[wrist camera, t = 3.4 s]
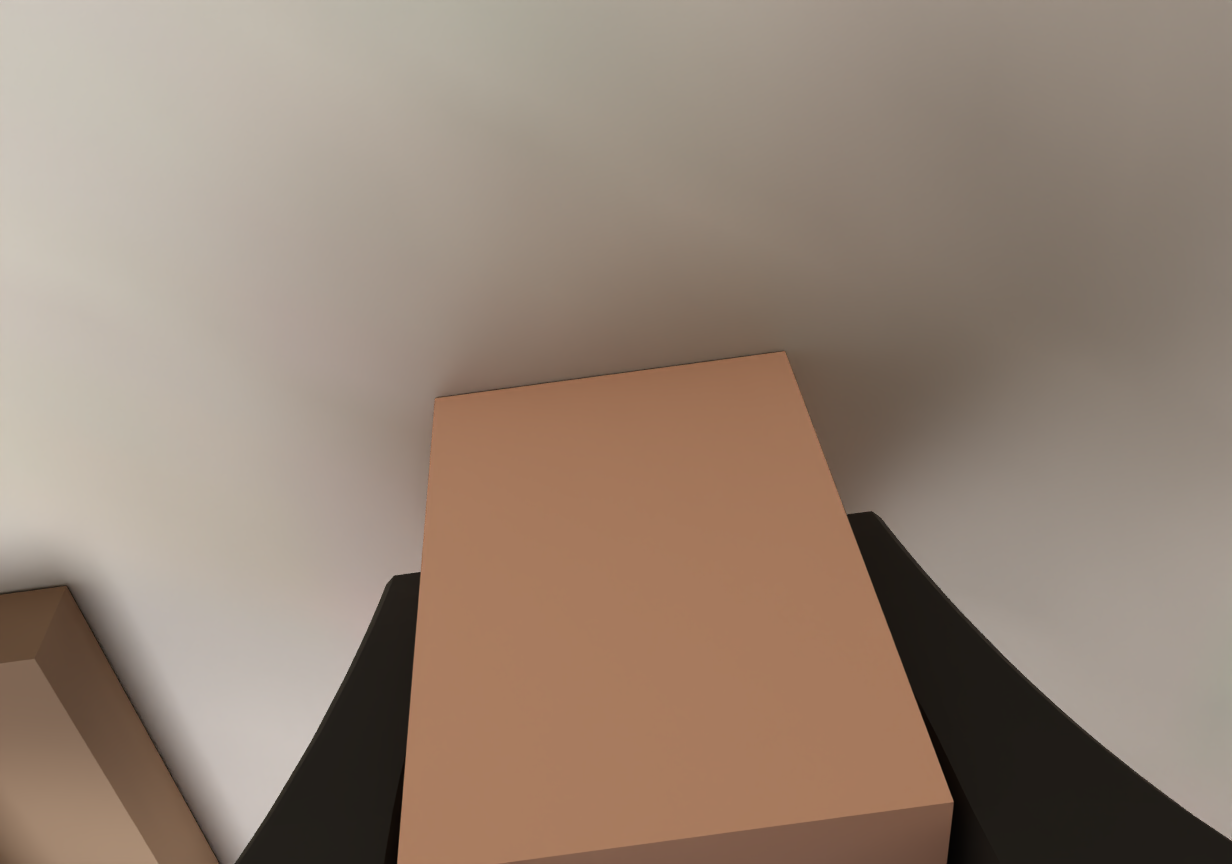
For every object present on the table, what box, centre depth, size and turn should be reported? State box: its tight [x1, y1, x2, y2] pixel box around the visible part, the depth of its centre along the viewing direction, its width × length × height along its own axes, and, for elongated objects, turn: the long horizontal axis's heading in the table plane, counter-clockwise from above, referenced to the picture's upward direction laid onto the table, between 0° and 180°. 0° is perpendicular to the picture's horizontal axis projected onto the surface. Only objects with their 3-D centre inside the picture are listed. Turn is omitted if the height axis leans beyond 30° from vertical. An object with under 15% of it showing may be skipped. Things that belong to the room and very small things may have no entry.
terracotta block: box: [397, 351, 954, 864], centre depth 12 cm, size 4×4×6 cm
